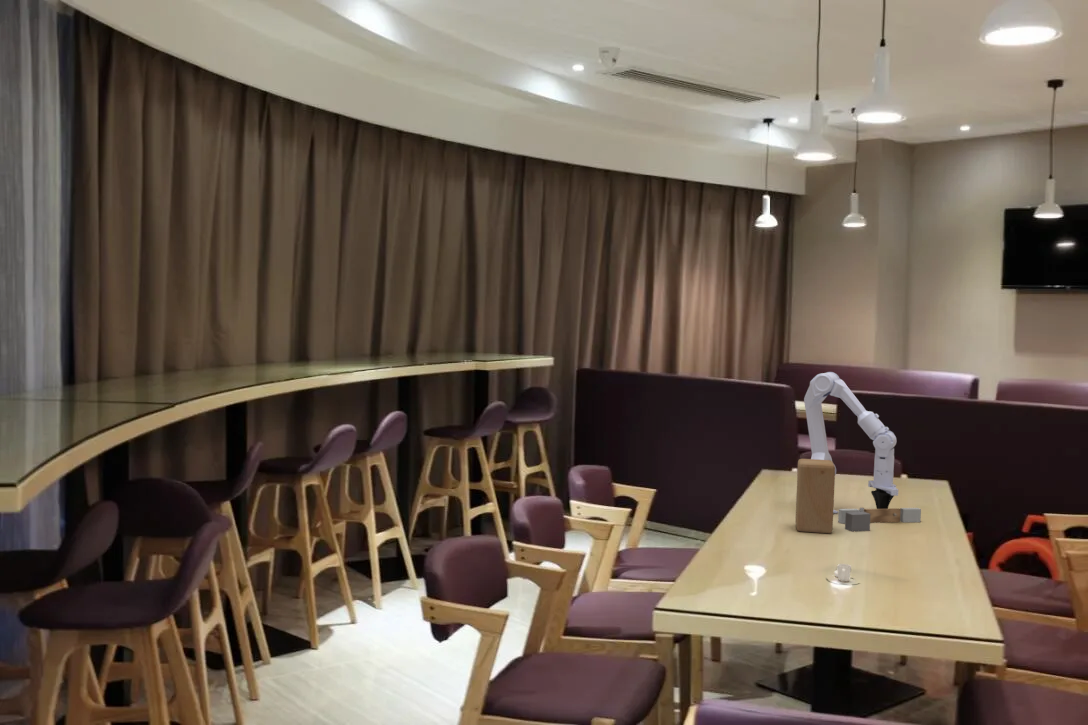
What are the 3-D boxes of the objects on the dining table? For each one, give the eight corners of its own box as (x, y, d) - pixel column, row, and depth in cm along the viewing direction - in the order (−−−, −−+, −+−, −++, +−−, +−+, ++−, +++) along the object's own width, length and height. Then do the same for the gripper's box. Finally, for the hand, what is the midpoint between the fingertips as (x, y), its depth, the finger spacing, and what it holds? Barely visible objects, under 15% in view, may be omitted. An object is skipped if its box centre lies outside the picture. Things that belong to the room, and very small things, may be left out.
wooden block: (832, 534, 287) (835, 465, 286) (796, 532, 289) (799, 463, 288) (829, 526, 297) (832, 459, 296) (795, 524, 299) (797, 457, 298)
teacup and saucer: (835, 575, 246) (836, 558, 246) (867, 581, 241) (867, 564, 240) (820, 582, 239) (820, 565, 239) (852, 589, 234) (853, 571, 234)
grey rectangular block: (851, 531, 291) (852, 514, 291) (844, 529, 295) (845, 512, 294) (869, 531, 293) (870, 514, 293) (862, 528, 296) (863, 511, 296)
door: (866, 523, 303) (866, 510, 302) (863, 522, 304) (864, 509, 304) (901, 522, 305) (902, 509, 305) (898, 521, 307) (898, 508, 306)
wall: (841, 523, 302) (841, 509, 301) (838, 522, 304) (838, 507, 303) (920, 522, 306) (921, 507, 306) (916, 520, 308) (917, 506, 308)
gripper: (908, 474, 302) (906, 519, 303) (883, 466, 316) (881, 509, 317) (886, 474, 301) (884, 519, 302) (862, 466, 315) (861, 509, 316)
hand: (881, 514), depth 309 cm, fingers closed
